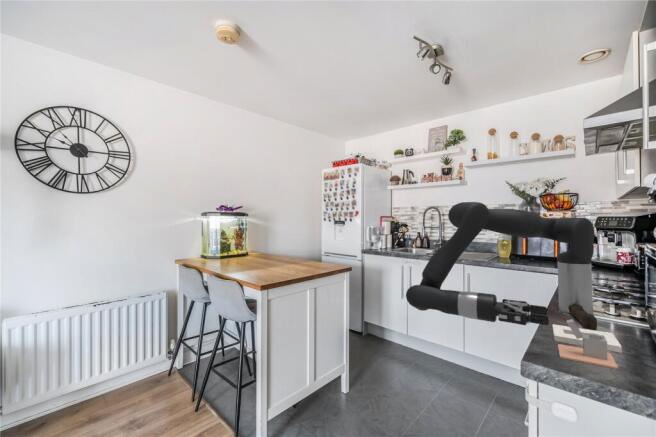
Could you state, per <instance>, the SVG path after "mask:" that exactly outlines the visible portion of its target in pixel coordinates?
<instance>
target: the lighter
mask: <svg viewBox="0 0 656 437" xmlns="http://www.w3.org/2000/svg"><path fill="white" fill-rule="evenodd" d="M566 323H567V325H568V327H570V328H571V330H572V332H573V333H574V335H575V336H576V338H577V339H579V338H583V346H582V348H583V354H584V356H588V357H594V358H599V359H604V360H608V356H607V353H608V350H607V341H606V339H602V336H600V335H599V334H593V333H589V336H583V335H582V334H581V332H580V330H579V329H578V328H579V327H578V326H577V324H576V322H575V321H574V319H573V318H572V319H567V320H566Z"/></svg>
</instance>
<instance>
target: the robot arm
mask: <svg viewBox="0 0 656 437" xmlns="http://www.w3.org/2000/svg"><path fill="white" fill-rule="evenodd" d="M447 217H448V219H449V222H450V224H451V225H452V226H454V227H455V228H457V229H456V230H455V232H454V233H453V235H452V236H450V238H449V239H448V240H447V241H446V242H445V243H444V244H442V245H441V246H440V247H439V248H438V249H437V250H435V252H434V253H433V254H432V256H431V257H430V259H428V260H429V261H428V262H427V263H426V265H425V267H424V268H423V271H422V273H421V278H422V279H421V281H420V283H419V284H415V285H412V286H410V287H409V288H408V289H407V290H406V292H405V299H406V300H407V302H408V304H409V305H410V306H411V307H413V308H415V309H417V310H418V311H422V312H423V311H428V310H433V311H434V310H436V311H438V312H439V311H440V312H441V313H444V314H447V315H453V316H460V317H463V318H464V317H465V318H468V319H472V320H478V321H484V322H490V323H496V322H497V318H498V321H499V322H504V323H510V324H515V325H516V324H517V325H521V326H527V324H530V323H531V324H537V325H541V326H542V325H544V326H549V323H550V322H549V321H550V320H549V316H548V308H547V306H543V305H537V304H536V305H535V304H530V303H528V302H527V301H526V300H525V301H524V300H515V299H507V298H504V299H501V300H502V301H497V296H496V294H495V293H494V294H493V293H485V292H484V293H483V292H476V291H460V290H452V289H441V288H442V284H443V283H444V282H445V281H446V279H447V277H448V275H449V273H451V270H452V269H453V268H454V266H455V264H456V262H457V261H458V260H459V258H460V257H461V256H462V254H463V253H464V252H465V250H467V248H468V247H469V245H471V244H472V242H473V241H474V240H475V239H476V237H477V236H478V235H479V234H480V233H481V232H482V231H483V230H485V231H490V232H495V233H498V234H503V235H506V236H507V235H508V236H512V237H519V238H542V239H548V240H550V241H553V242H554V241H555V242H558V243H562V244H564V243H565V244H569V245H570V246H569V249H568V250H566V251H564V252H560V253H558V254H557V255H556V256H557V283H558V284H557V288H558V289H557V290H558V309H559V310H560V311H562V312H565V313H569V314H570V312H569V309H568V307H569V306H570V305H573V304H576V305H580V306H582V307H583V309H584V310H585V311H586V312H587V313H588V314H591V315H593V314H594V303H593V302H594V299H593V274H592V273H593V272H592V268H593V267H592V259H593V256H594V254H595V253H594V247H595V243H594V242H595V228H594V225H593V223H592V222H591V220H590V219H588V218H586V217H555V218H553V217H543V216H541V215H540V214H538V213H536V212H533V211H529V210H523V209H515V208H488V207H487V205H485V204H484V203H483V202H479V201H461V202H459V203H456V204H454V205H453V206H452V207H451V208H450V209H449V210H448V216H447ZM592 313H593V314H592Z"/></svg>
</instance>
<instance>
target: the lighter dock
mask: <svg viewBox="0 0 656 437" xmlns="http://www.w3.org/2000/svg"><path fill="white" fill-rule="evenodd" d="M578 329H579V330H580V332H581V334H582V335H583V336H589V333H593V334H599V335H600V336H602V339H606V341H607V351H608V352H615V353H616V352H617V353H620V354H622V353H623V348H622V347H623V346H622V345H621V344H620V342H619V341H618V338H616V336H615V335H614V333H613V332H606V331H600V330H596V331H594V330H588V329H585V328H580V327H578ZM552 333H553V340H554V342H557V343H563V344H564V343H565V344H570V345H576V346H581V347H583V338H579V339H577V338H576V336H575V335H574V333H573V332H572V330H571V328H570V327H569V325H568V326H565V325H561V324H560V325H559V324H552Z"/></svg>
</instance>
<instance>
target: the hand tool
mask: <svg viewBox="0 0 656 437" xmlns="http://www.w3.org/2000/svg"><path fill="white" fill-rule="evenodd" d="M568 309H569V312H570V313H569V312H568V313H569V314H570V315H571V316H574V318H576V320H578V321H579V322H580V323H581V325H582V327H583V328H582V329H588V330H594V331H597V330H598V319H597V317H595V316H596V315H593V314H588V313H587V312H586V311H585V310H584V309H583V307H582V306H580V305H576V304H573V305H570V306H569V307H568Z"/></svg>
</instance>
